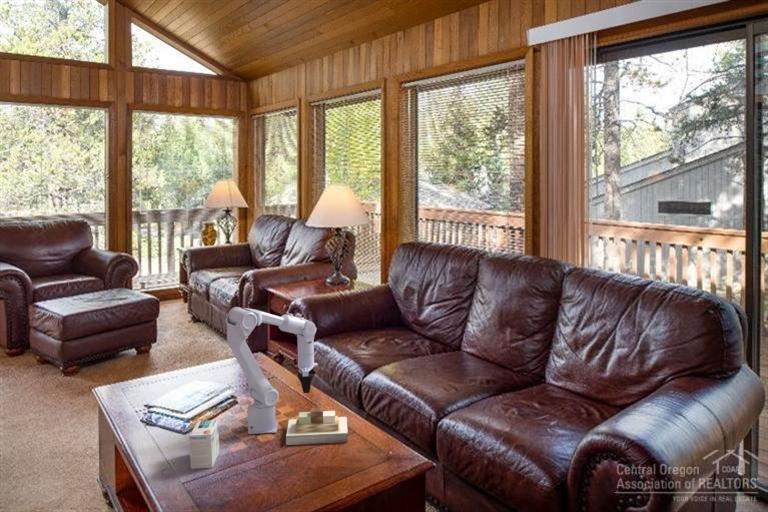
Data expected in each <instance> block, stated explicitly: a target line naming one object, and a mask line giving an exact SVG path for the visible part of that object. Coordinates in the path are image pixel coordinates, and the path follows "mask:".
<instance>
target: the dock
mask: <svg viewBox="0 0 768 512" xmlns="http://www.w3.org/2000/svg"><path fill="white" fill-rule="evenodd" d="M296 421H297V418H296V419H295V418H291V419H288V422H287V423H288V424H287V428H286V429H287V431H286V435H285V445H286V446H296V445H299V446H300V445H313V444H314V445H317V444H334V443H335V444H336V443H348V442H349V434H348V433H349V431H348V417H347V416H338V430H333V431H313V432H296Z"/></svg>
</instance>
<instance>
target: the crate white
mask: <svg viewBox="0 0 768 512" xmlns="http://www.w3.org/2000/svg"><path fill="white" fill-rule="evenodd" d="M335 416H336V410H323V423H335Z"/></svg>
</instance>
